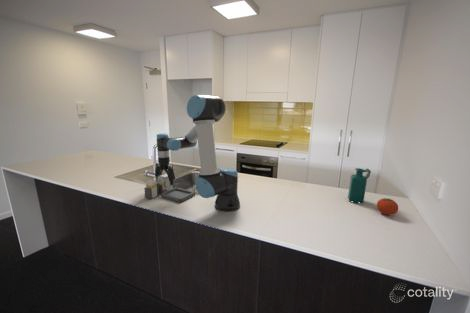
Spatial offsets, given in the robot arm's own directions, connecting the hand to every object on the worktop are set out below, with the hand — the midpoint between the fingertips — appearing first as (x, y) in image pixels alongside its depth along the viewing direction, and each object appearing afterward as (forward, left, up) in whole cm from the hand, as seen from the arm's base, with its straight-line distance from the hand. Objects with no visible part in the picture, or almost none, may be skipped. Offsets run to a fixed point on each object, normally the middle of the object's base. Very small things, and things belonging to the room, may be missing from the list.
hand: (165, 187), depth 151 cm
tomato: (-133, -41, -3) cm, 139 cm away
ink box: (0, 0, -3) cm, 3 cm away
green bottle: (-118, -53, -3) cm, 129 cm away
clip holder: (0, +5, -3) cm, 5 cm away
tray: (-14, +2, -3) cm, 14 cm away
